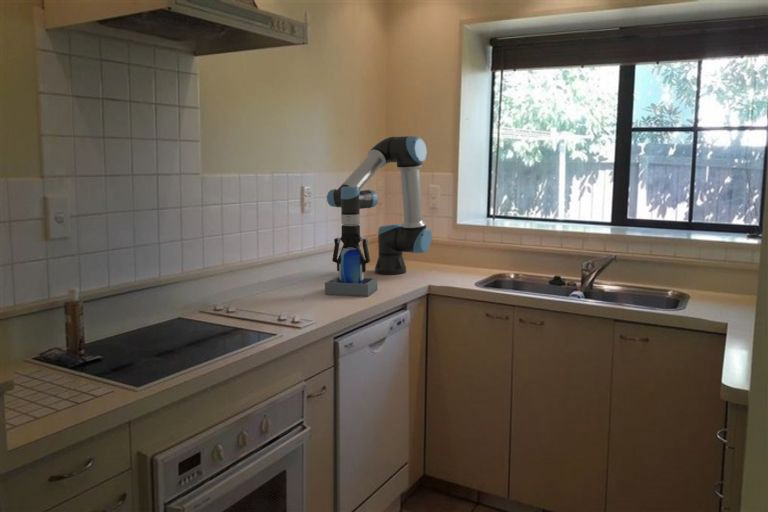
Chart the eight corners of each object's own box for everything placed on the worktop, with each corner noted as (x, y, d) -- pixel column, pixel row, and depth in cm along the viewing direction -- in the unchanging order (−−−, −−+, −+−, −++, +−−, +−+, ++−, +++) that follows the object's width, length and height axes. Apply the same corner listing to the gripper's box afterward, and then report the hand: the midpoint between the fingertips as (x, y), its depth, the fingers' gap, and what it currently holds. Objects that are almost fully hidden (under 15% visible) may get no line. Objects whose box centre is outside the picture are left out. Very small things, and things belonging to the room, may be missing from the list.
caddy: (336, 288, 281) (336, 276, 281) (377, 289, 277) (377, 278, 276) (325, 294, 268) (324, 282, 267) (367, 296, 263) (367, 284, 263)
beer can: (345, 288, 266) (345, 249, 264) (338, 285, 274) (337, 247, 272) (364, 286, 270) (364, 248, 267) (357, 283, 277) (356, 245, 275)
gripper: (323, 225, 267) (324, 280, 271) (372, 226, 262) (373, 282, 265) (329, 223, 274) (330, 276, 278) (377, 224, 269) (378, 278, 273)
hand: (351, 279), depth 272 cm, fingers closed on beer can, 8 cm apart
